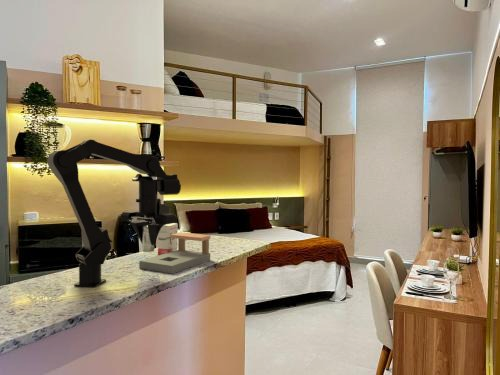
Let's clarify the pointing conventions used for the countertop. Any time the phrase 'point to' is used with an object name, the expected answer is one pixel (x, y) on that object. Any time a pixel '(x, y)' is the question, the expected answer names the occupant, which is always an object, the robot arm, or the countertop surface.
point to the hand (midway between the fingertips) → (148, 244)
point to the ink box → (167, 239)
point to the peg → (146, 240)
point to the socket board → (179, 255)
